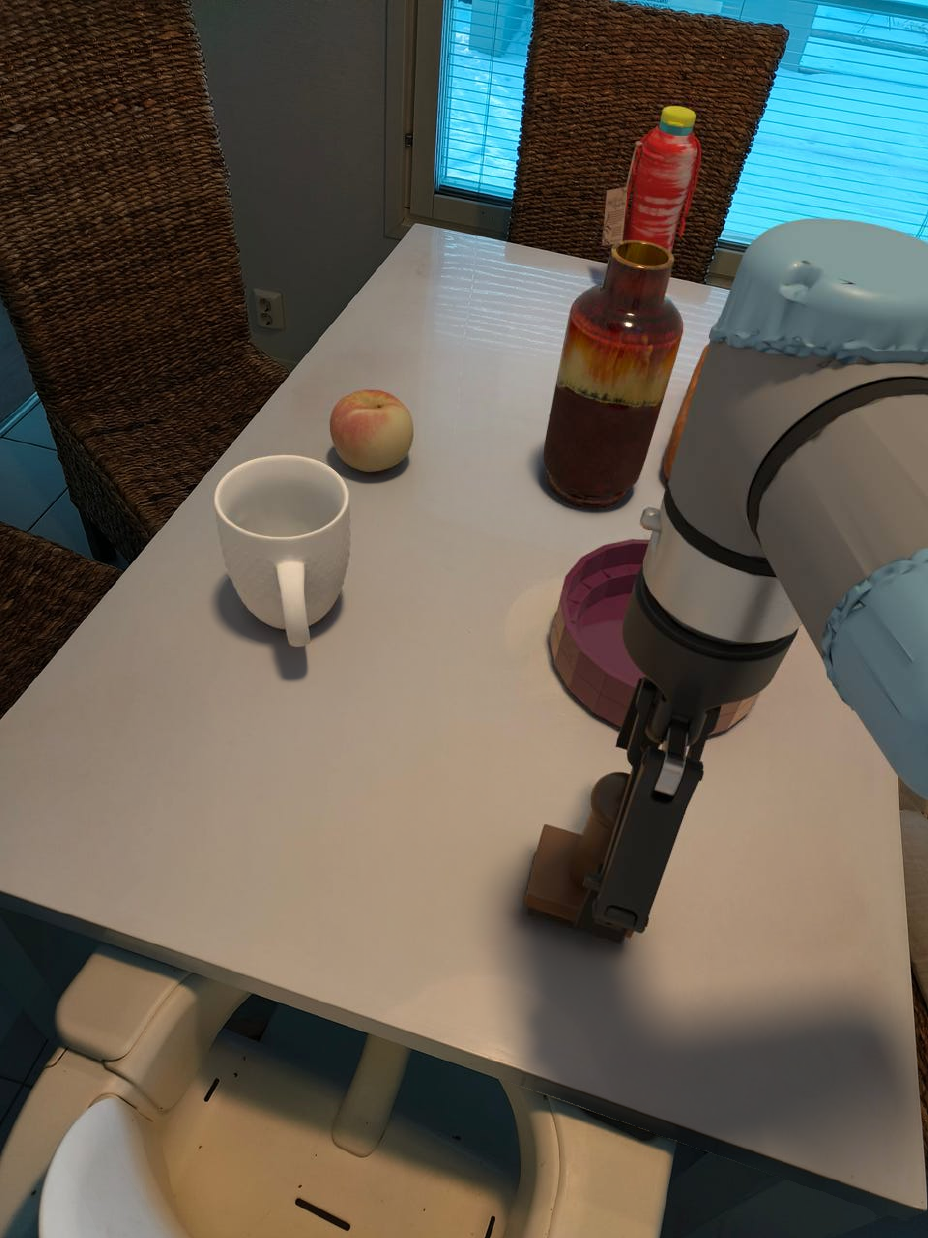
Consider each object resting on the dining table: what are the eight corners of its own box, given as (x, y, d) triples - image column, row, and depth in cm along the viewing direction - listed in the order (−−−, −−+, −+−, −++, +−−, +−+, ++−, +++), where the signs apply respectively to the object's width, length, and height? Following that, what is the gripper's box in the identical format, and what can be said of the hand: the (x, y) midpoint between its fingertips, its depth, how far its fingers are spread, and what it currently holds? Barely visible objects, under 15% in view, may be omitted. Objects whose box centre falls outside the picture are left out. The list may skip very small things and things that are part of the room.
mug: (366, 674, 74) (366, 566, 65) (236, 690, 72) (217, 580, 62) (342, 558, 84) (340, 449, 74) (227, 569, 81) (210, 457, 72)
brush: (634, 879, 63) (693, 766, 52) (623, 951, 60) (685, 845, 48) (536, 849, 64) (573, 732, 53) (519, 918, 60) (555, 807, 49)
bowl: (798, 711, 76) (825, 668, 71) (611, 769, 70) (628, 726, 65) (685, 568, 88) (702, 523, 83) (516, 607, 82) (525, 561, 77)
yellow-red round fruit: (316, 462, 94) (313, 400, 88) (368, 428, 99) (369, 367, 93) (377, 496, 91) (378, 434, 85) (427, 459, 96) (432, 398, 90)
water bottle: (582, 292, 128) (619, 106, 109) (592, 271, 133) (628, 90, 115) (661, 310, 126) (712, 124, 108) (668, 287, 131) (717, 106, 113)
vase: (522, 461, 97) (562, 230, 78) (607, 447, 101) (665, 223, 82) (563, 522, 91) (617, 286, 72) (653, 505, 94) (727, 276, 75)
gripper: (673, 428, 47) (597, 673, 63) (585, 787, 30) (510, 1005, 46) (809, 460, 46) (698, 702, 62) (796, 852, 29) (647, 1053, 44)
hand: (618, 832), depth 54 cm, fingers open, 13 cm apart
